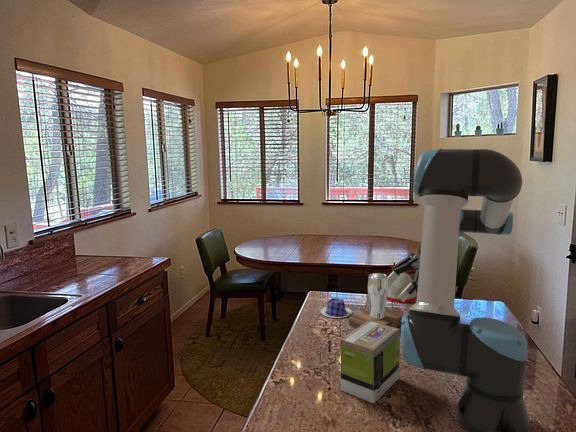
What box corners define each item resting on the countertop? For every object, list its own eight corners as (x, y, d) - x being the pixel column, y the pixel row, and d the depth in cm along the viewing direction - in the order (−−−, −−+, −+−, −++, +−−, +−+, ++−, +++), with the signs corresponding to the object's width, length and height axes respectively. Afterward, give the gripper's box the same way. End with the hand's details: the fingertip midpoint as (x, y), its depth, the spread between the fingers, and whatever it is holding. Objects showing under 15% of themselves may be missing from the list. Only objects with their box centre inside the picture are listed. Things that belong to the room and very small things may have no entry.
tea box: (367, 367, 121) (368, 318, 119) (400, 379, 115) (402, 328, 113) (339, 390, 110) (339, 337, 107) (373, 405, 104) (375, 349, 101)
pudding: (356, 310, 163) (356, 298, 162) (344, 322, 153) (345, 308, 152) (328, 305, 169) (328, 293, 168) (315, 316, 159) (315, 302, 158)
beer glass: (384, 312, 153) (385, 272, 151) (389, 320, 146) (390, 278, 144) (365, 313, 153) (366, 273, 150) (369, 320, 146) (370, 279, 143)
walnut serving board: (376, 336, 141) (376, 328, 140) (348, 325, 150) (349, 317, 149) (404, 323, 151) (404, 315, 150) (377, 313, 160) (377, 305, 159)
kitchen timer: (388, 289, 186) (389, 256, 184) (419, 294, 179) (421, 260, 177) (377, 299, 174) (378, 264, 172) (411, 305, 167) (412, 269, 165)
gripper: (459, 265, 139) (415, 312, 138) (422, 247, 163) (384, 287, 163) (445, 250, 137) (400, 298, 137) (409, 235, 161) (371, 275, 161)
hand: (391, 292), depth 150 cm, fingers open, 13 cm apart
